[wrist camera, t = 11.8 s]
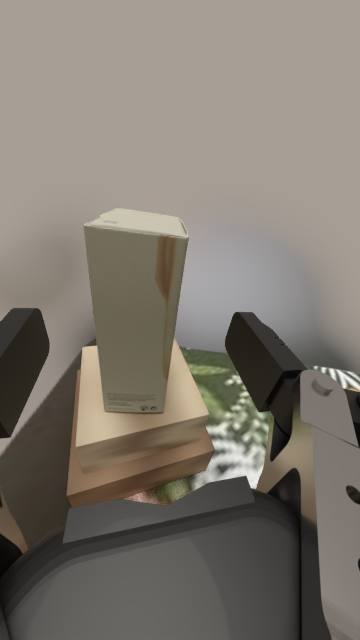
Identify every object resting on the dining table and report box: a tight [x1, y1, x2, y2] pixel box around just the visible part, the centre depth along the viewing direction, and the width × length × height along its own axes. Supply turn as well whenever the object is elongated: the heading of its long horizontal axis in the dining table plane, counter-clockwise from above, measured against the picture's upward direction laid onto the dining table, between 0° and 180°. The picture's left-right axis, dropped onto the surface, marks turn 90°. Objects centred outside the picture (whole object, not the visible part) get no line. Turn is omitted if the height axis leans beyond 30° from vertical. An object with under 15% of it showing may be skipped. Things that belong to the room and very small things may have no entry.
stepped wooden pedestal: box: [67, 338, 215, 508], centre depth 20 cm, size 11×11×8 cm
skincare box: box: [84, 208, 189, 412], centre depth 14 cm, size 6×4×12 cm
